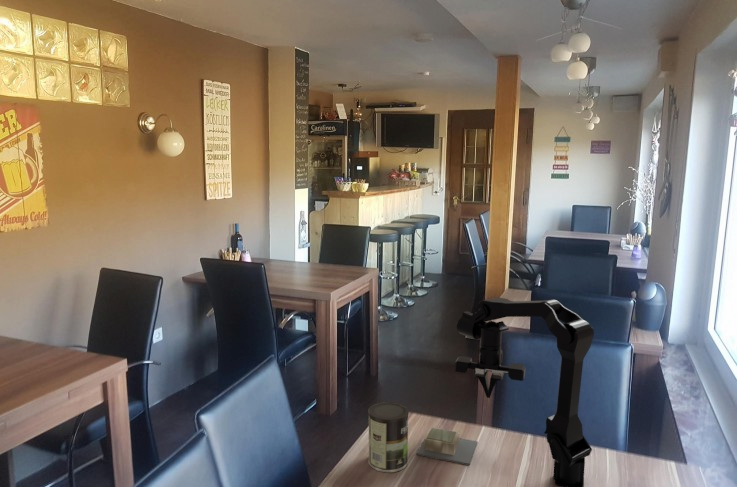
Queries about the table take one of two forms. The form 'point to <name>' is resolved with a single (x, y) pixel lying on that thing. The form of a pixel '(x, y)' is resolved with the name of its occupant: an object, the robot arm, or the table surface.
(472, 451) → the slate mat
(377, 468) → the coffee can
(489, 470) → the table surface
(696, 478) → the table surface
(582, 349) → the robot arm
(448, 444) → the beech board
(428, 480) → the table surface
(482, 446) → the table surface
